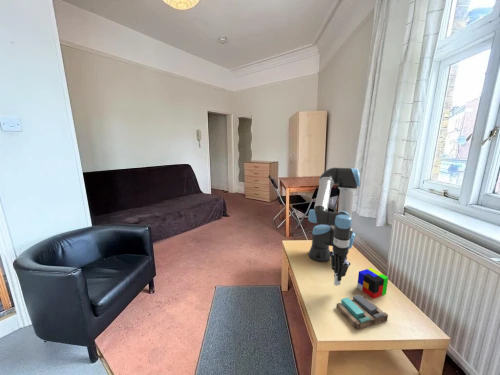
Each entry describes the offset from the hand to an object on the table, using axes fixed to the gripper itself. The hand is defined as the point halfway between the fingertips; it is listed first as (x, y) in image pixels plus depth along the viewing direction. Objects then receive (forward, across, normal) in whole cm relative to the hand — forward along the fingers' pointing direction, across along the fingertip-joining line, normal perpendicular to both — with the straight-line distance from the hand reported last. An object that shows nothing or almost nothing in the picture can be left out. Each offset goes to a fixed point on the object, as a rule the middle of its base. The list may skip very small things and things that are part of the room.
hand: (337, 284), depth 112 cm
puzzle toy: (+6, +4, +20) cm, 21 cm away
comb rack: (+5, +15, +2) cm, 16 cm away
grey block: (+6, +13, +6) cm, 15 cm away
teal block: (+5, +13, -2) cm, 14 cm away
